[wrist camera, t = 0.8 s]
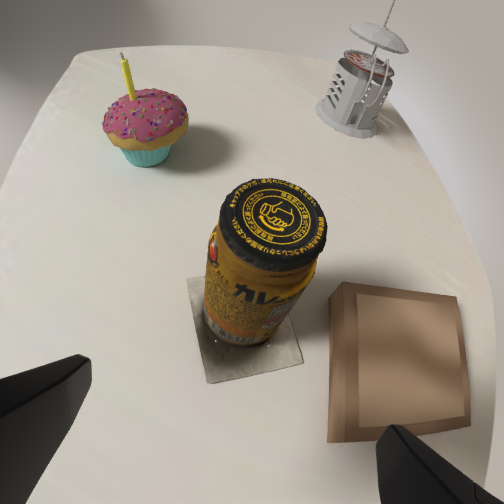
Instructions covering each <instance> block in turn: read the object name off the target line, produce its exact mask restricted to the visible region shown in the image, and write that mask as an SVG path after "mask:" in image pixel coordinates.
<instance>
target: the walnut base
mask: <svg viewBox="0 0 504 504" xmlns="http://www.w3.org/2000/svg"><path fill="white" fill-rule="evenodd" d="M329 329H330V374H329V415H328V438H327V443H343V442H362V441H375V440H379V439H380V437H381V436H382V434H383V433H384V431H385V429H386V428H387V427H388V426H389V425H390V424H400V425H403V426H404V427H405V428H406V429H408V430H409V431H410V432H411V433H413V434H414V435H415V436H419V435H425V434H431V433H437V432H443V431H448V430H453V429H458V428H463V427H468V426H471V422H470V398H469V384H468V372H467V362H466V354H465V346H464V339H463V332H462V326H461V319H460V314H459V308H458V303H457V298H456V297H455V296H447V295H440V294H432V293H424V292H416V291H408V290H401V289H393V288H386V287H378V286H371V285H364V284H356V283H349V282H342V283H341V284H340V285H339V287H338V288H337V289H336V290H335V291H334V292H333V294H332V295H331V296H330V297H329Z"/></svg>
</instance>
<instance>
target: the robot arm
mask: <svg viewBox="0 0 504 504" xmlns="http://www.w3.org/2000/svg"><path fill="white" fill-rule="evenodd" d="M91 382H92V369H91V360H90V359H89V358H88V357H85V356H83V355H80V354H76V355H73V356H70V357H67V358H64V359H61V360H58V361H55V362H52V363H49V364H46V365H43V366H40V367H37V368H34V369H31V370H27V371H24V372H21V373H18V374H15V375H12V376H8V377H5V378H2V379H0V504H26V502H27V500H28V498H29V496H30V495H31V493H32V491H33V489H34V488H35V486H36V484H37V483H38V481H39V479H40V477H41V476H42V474H43V472H44V471H45V469H46V467H47V466H48V464H49V462H50V461H51V459H52V457H53V456H54V454H55V452H56V451H57V449H58V447H59V446H60V444H61V443H62V441H63V439H64V438H65V436H66V435H67V433H68V431H69V430H70V428H71V426H72V424H73V422H74V420H75V418H76V416H77V414H78V412H79V410H80V407H81V405H82V403H83V401H84V399H85V397H86V395H87V393H88V391H89V389H90V386H91ZM376 457H377V473H378V487H379V494H380V500H381V504H504V502H502V501H501V500H499V499H497V498H496V497H494V496H493V495H491V494H490V493H488V492H487V491H486V490H484V489H483V488H482V487H480V486H479V485H478V484H476V483H474V482H473V481H472V480H471V479H470V478H468V477H467V476H466V475H464V474H463V473H462V472H461V471H459V470H458V469H457V468H455V467H454V466H453V465H452V464H450V463H449V462H448V461H446V460H445V459H444V458H443V457H441V456H440V455H439V454H438V453H436V452H435V451H434V450H433V449H431V448H430V447H429V446H427V445H426V444H425V443H424V442H423V441H421V440H420V439H419V438H418V437H416V436H415V435H414V434H413V433H411V432H410V431H409V430H408V429H406V428H405V427H404V426H403V425H400V424H390V425H389V426H388V427H387V428H386V429H385V431H384V433H383V434H382V436H381V437H380V439H379V440H378V442H377V444H376Z"/></svg>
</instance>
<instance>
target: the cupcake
mask: <svg viewBox="0 0 504 504" xmlns="http://www.w3.org/2000/svg"><path fill="white" fill-rule="evenodd" d="M120 55H121V58H122V60H121V66H122V70H123V74H124V78H125V82H126V86H127V90H128V93H129V94H127V95H124V96H123V97H121V98H119V100H118V101H117V102H115V103H113V104H112V106H111V107H108V110H109V111H108V112H106V113H105V116H104V121H103V122H102V125H103V130H104V132H105V133H106V134H107V136H108V138H109V139H110V141H111V142H112V144H113V145H114V146H117V147H119V148H120V149H121V150H122V151H123V153H124V155H125V156H126V158H127V160H128V161H129V162H130V163H131V164H133V165H135V166H139V167H149V166H154V165H157V164H159V163H161V162H162V161H164V160H165V159H166V157H167V156H168V154H169V151H170V148H171V146H172V144H174V143H175V142H177V140H178V139H179V138H180V137H181V136H182V135H183V134H185V132H186V131H187V127H188V121H189V119H188V113H187V109H186V106H185V105H184V103H183V101H181V100H180V99H179V97H177V96H175V95H174V94H170V93H168V92H165V91H162V90H158V89H155V88H153V89H143V90H139V91H137V90H136V91H135V89H134V85H133V81H132V76H131V72H130V68H129V64H128V59H124V57H123V54H122V53H120ZM109 108H110V109H109Z"/></svg>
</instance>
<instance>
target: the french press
mask: <svg viewBox="0 0 504 504" xmlns="http://www.w3.org/2000/svg"><path fill="white" fill-rule="evenodd" d="M394 2H395V0H393V2H392V4H391V7H390V10H389V12H388V15H387V17H386V20H385V23H384V25H377V24H373V23H356V24H350V26H349V28H350V30H351V32H352V33H353V34H355V35H356V36H358V37H359V38H361V39H363V40H365V41H366V42H368V43H370V44H373V45H375V48H374V51H373V54H372V55H370V54H369V55H368V54H367V53H364V52H361V51H356V50H352V49H351V50H347V51H345V52H344V56H345V57H346V58H341V59H340V60H339V61H338V64H337V66H336V70H337V71H338V72H339V74H335V73H334V75H333V78H334V79H335V80H336V81H331V84H330V85H331V86H332V88H329V89H328V93H329V95H326V97H325V99H323V100H321V101H319V102H317V104H316V106H315V109H316V112H317V115H318V116H319V117H320V118H321V119H322V120H323V121H324V122H325V123H326V124H328V125H329V126H331V127H332V128H334V129H335V130H337V131H339V132H342V133H344V134H346V135H349V136H353V137H358V138H370V137H373V136H374V135H375V134H377V125H376V123H375V120H376V118H377V116H378V113H379V112H380V109H381V106H382V105H383V103H384V101H385V98H386V97H387V95H388V92H389V90H390V89H391V86H392V80H391V79H390V77H392V76H394V71H393V69H392V68H391V67H390V66H389V59H386V61H385V63H384V62H382V61H381V60H379V59H377V58H376V54H374V53H375V51H376V48H377V47H380V48H382V49H384V50H387V51H390V52H393V53H398V54H404V53H408V52H409V51H408V48H407V47H406V45H405V44H404V42H403V41H402V39H400V37H398V36H397V35H396V34H395V33H393V32H392V31H390V30H389V29H388V28H387V27H386V26H385V25H386V23H387V20H388V18H389V14H390V12H391V10H392V7H393V5H394ZM386 63H387V64H386ZM339 78H343V80H342V81H340V80H339ZM371 80H373V81H375V82H376V83H377V84H379V85H381V86H378V85H374V84H371ZM335 85H339V87H338V88H336V86H335ZM369 87H370V88H371V89H370V91H369V90H368V88H369ZM332 92H335V93H336V94H334V95H333V93H332ZM365 94H368V95H367V98H366V97H365V96H364V95H365ZM384 95H385V97H384V98H383V96H384ZM362 99H363V100H364V101H365V102H364V104H363V103H362V102H361V100H362ZM381 102H382V104H381V105H379V104H380V103H381ZM378 109H379V111H378V112H376V111H377V110H378Z"/></svg>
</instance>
